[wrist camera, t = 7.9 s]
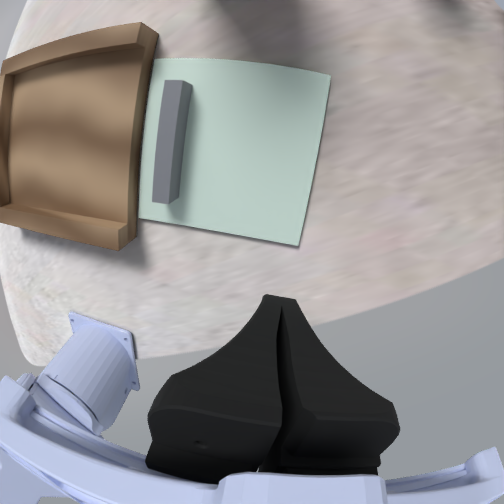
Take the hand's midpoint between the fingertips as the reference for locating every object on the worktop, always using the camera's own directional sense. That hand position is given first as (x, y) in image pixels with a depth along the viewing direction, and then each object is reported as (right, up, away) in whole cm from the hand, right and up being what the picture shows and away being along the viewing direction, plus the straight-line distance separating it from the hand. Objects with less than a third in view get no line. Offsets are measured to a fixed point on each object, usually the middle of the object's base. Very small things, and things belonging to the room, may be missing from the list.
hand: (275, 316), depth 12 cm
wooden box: (-17, +13, +7) cm, 22 cm away
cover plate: (-3, +10, +7) cm, 12 cm away
